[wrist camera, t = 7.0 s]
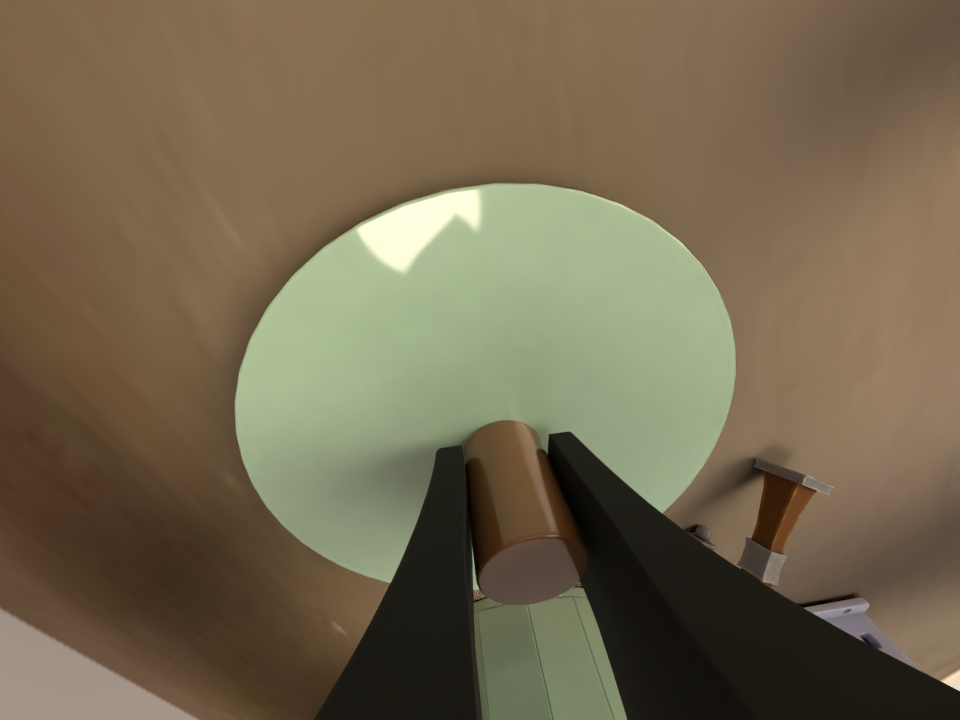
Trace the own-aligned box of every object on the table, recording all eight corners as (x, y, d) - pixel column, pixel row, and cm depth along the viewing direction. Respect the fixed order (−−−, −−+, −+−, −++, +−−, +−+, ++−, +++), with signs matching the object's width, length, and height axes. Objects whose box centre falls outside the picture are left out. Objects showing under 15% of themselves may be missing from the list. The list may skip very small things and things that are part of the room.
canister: (654, 566, 17) (740, 717, 13) (617, 683, 24) (665, 813, 19) (382, 610, 16) (363, 795, 11) (421, 721, 23) (419, 868, 18)
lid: (776, 162, 9) (1098, 156, 4) (662, 535, 15) (746, 667, 11) (148, 204, 7) (-206, 248, 3) (327, 587, 14) (286, 757, 10)
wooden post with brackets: (639, 595, 17) (733, 690, 12) (699, 437, 17) (813, 477, 13) (666, 601, 17) (765, 693, 13) (724, 448, 17) (841, 489, 13)
